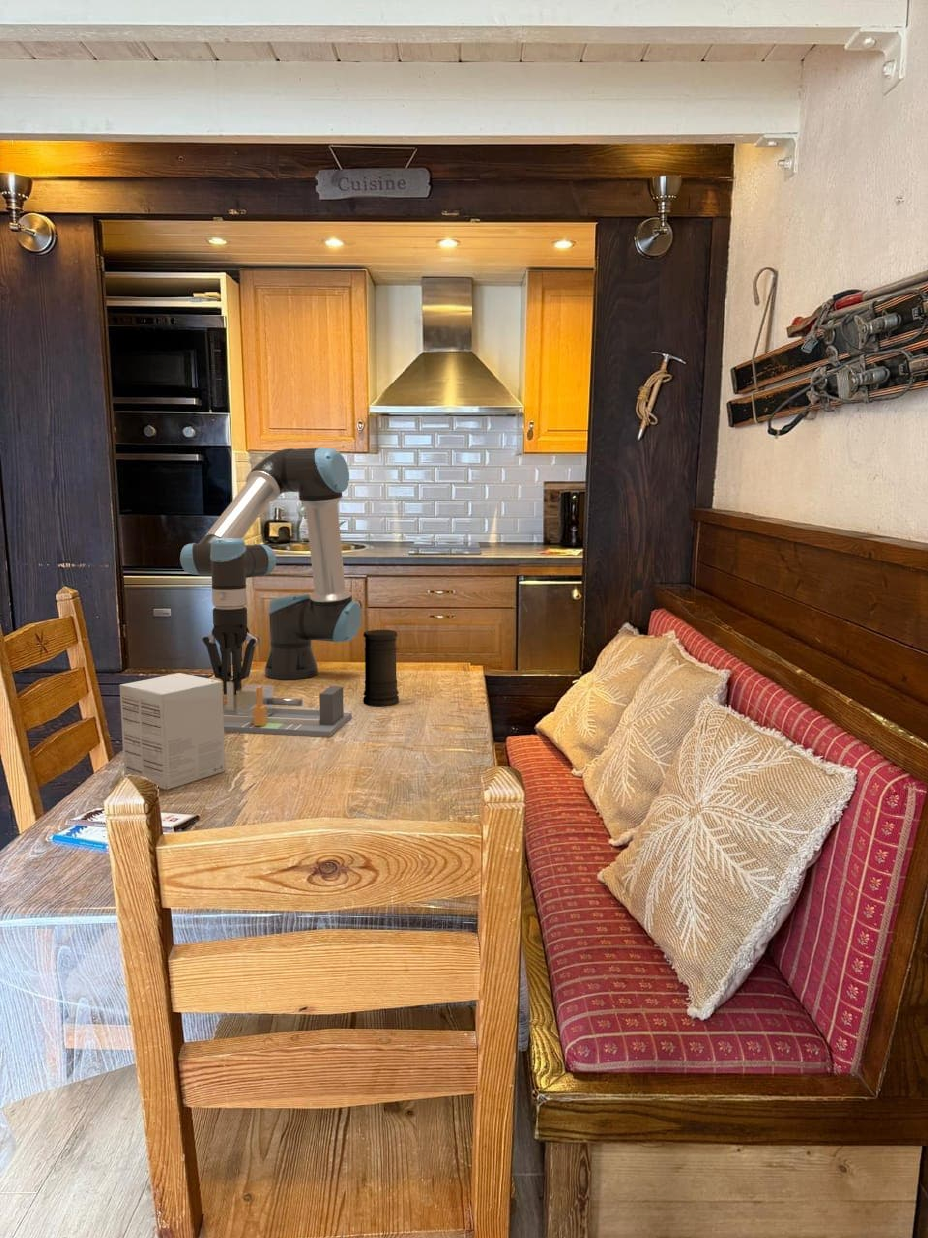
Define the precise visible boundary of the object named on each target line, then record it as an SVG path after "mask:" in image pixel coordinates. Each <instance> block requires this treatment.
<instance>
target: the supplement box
mask: <svg viewBox="0 0 928 1238" xmlns="http://www.w3.org/2000/svg"><path fill="white" fill-rule="evenodd" d="M118 686H119V701H120V702H119V704H120V717H121V719H120V720H121V721H120V722H121V738H122V742H121V743H122V759H123V760H122V761H123V774H124V775H128V774H131V775H139V776H143V777H146V778H148V779H149V780H151V781H153V782H155V783H157V785H158V786H159V788H158V789H161V790H165V791H168V790H171V789H174V788H177V787H178V788H179V787H180V786H184V785H187V784H189V783H193V782H196V781H199V780H202V779H205V778H208V777H211V776H214V775H218V774H221V773H224V772H225V771H226V770H227V769H226V768H227V767H226V764H227V763H226V746H225V732H224V719H223V707H224V701H223V699H224V698H223V695H224V693H223V681H222V680H217V679H212V678H207V677H202V676H196V675H192V674H186V673H180V672H177V673H176V672H175V673H173V674H168V675H163V676H157V677H153V678H152V677H151V678H148V679H143V680H138V681H134V682H128V683H122V684H119V685H118Z"/></svg>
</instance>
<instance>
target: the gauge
mask: <svg viewBox="0 0 928 1238" xmlns="http://www.w3.org/2000/svg"><path fill="white" fill-rule="evenodd" d="M259 686H262V693H263V705H264V706H266V708H267V717H268V716H269V715H271V714H272V713H274V707H275V706H285V707H286V706H290V707H302V706H303V704H304V702H303V701H304V700H303V699H302V698H285V697H275V695H274V684H258V683H248V684H246V685H244V686H243V687H242V686H241V688H240V689H239V690H237V691H236V701H237V716H247V717H254V707H256V706H257V689H256V688H257V687H259Z"/></svg>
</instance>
